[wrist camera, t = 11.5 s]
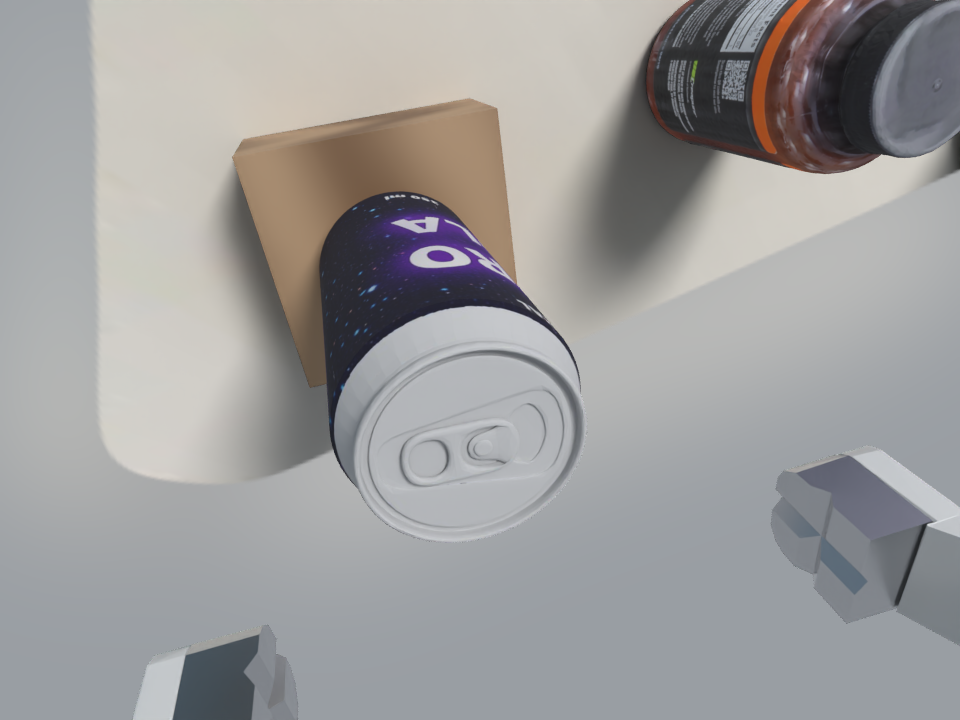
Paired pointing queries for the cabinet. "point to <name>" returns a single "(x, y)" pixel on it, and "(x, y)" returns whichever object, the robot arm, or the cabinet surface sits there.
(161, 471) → the cabinet surface
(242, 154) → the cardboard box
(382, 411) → the beverage can
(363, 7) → the cabinet surface
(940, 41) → the supplement bottle
